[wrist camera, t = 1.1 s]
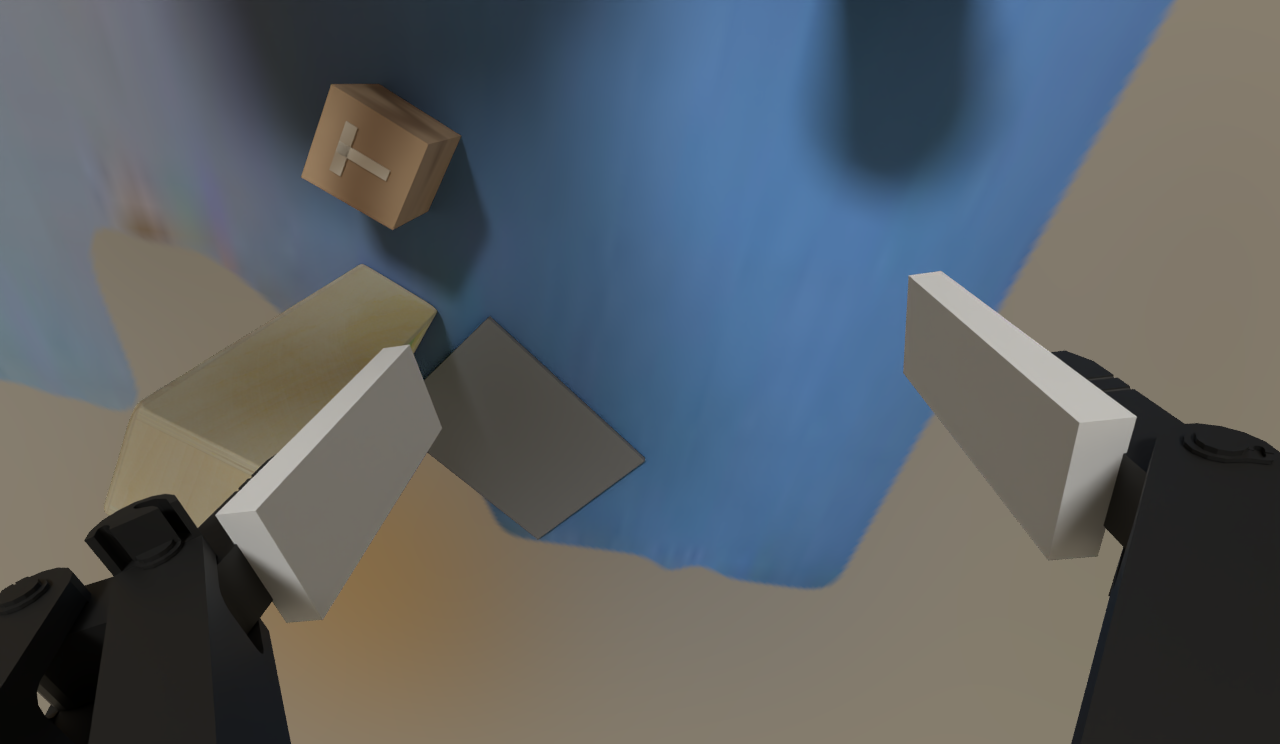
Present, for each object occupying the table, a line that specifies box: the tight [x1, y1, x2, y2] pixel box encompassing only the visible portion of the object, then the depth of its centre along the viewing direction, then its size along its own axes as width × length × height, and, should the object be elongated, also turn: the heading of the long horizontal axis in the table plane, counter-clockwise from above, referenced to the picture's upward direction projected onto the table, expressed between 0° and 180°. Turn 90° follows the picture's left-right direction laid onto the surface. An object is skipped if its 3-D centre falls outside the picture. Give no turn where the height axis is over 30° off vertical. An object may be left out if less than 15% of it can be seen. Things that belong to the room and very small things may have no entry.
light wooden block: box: [104, 264, 437, 528], centre depth 37 cm, size 8×7×21 cm
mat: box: [424, 316, 645, 539], centre depth 50 cm, size 18×14×1 cm
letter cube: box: [301, 84, 461, 230], centre depth 37 cm, size 6×6×6 cm
